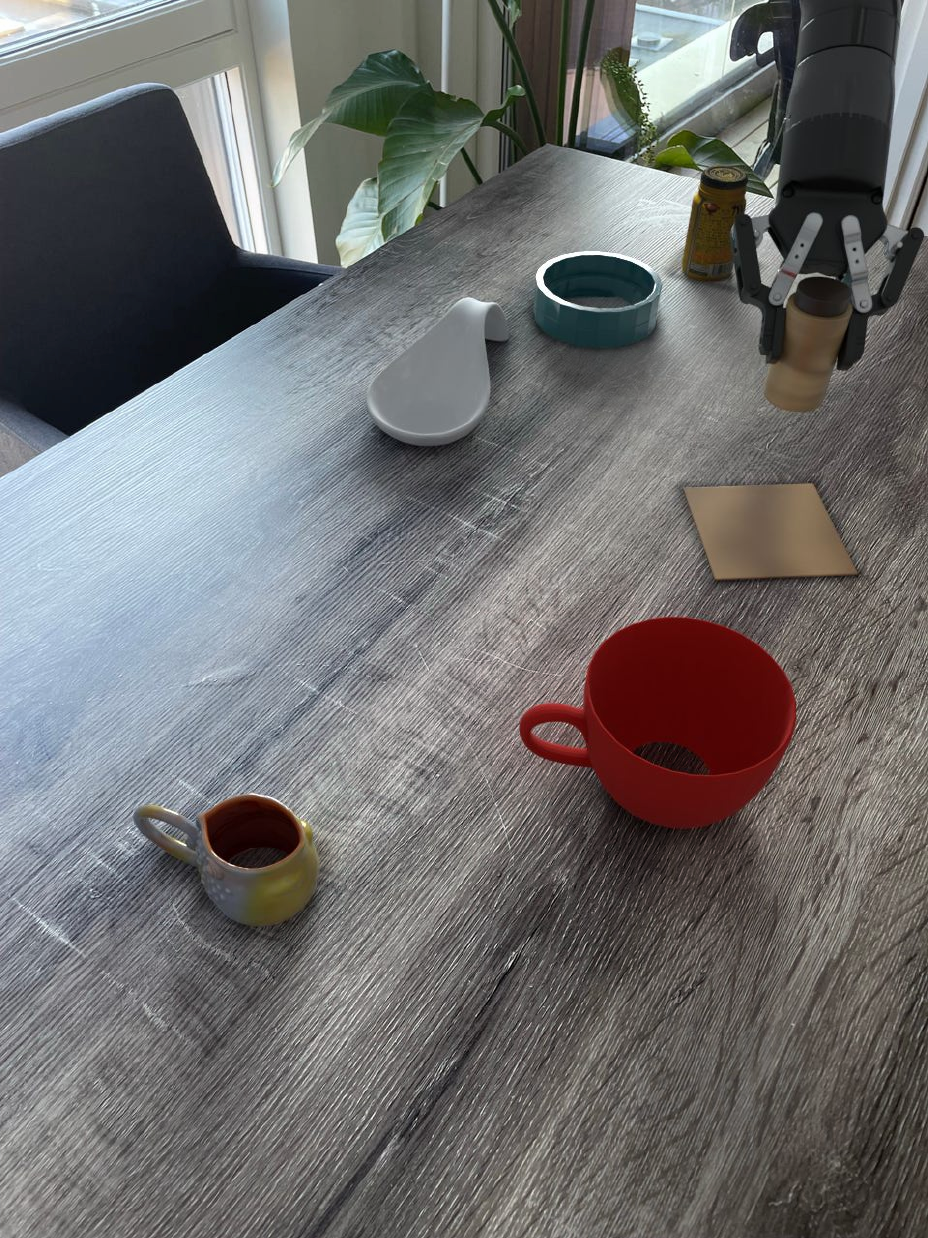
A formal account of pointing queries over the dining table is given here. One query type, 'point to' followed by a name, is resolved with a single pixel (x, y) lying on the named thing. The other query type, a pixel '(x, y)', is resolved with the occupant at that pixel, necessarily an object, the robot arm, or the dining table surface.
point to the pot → (596, 280)
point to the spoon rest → (439, 378)
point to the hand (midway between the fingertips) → (809, 363)
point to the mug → (234, 832)
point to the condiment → (714, 223)
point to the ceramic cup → (676, 719)
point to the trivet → (767, 532)
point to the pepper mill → (809, 344)
